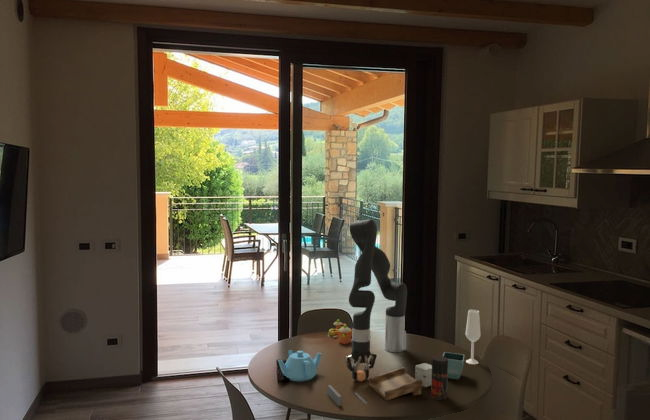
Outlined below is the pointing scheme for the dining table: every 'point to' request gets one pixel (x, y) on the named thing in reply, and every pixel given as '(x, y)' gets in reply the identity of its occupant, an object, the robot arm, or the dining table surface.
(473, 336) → the champagne flute
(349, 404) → the dining table surface
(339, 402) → the rail
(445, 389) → the deodorant
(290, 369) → the teapot
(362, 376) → the ball
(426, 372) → the skincare box
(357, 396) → the grey thin rod
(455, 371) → the flower pot
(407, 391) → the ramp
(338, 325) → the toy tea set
